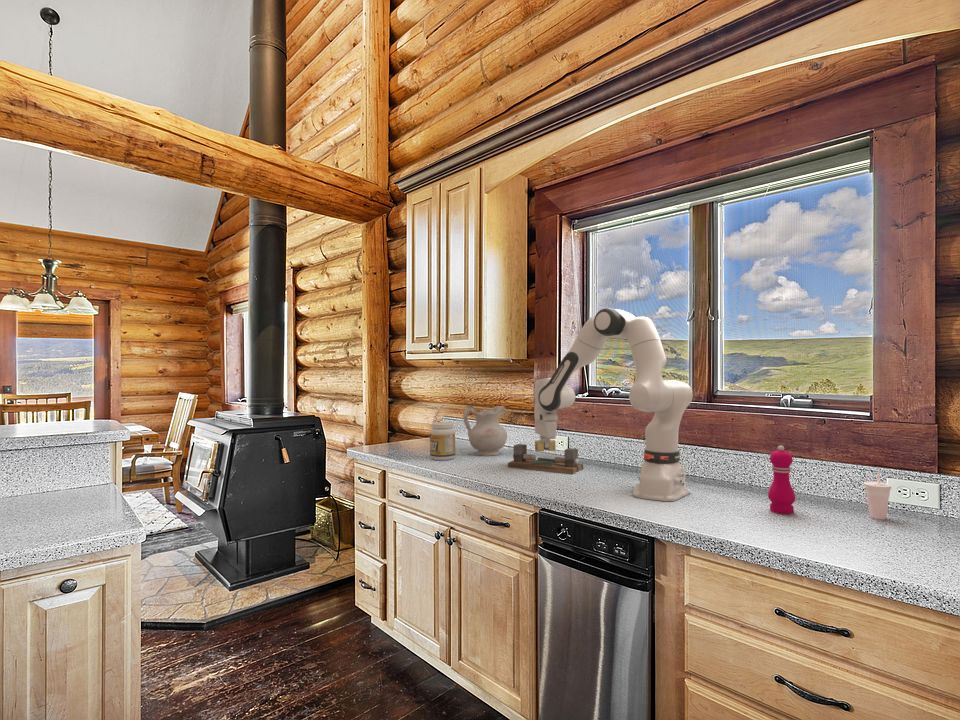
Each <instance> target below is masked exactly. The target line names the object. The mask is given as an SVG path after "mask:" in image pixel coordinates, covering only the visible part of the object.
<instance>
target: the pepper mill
mask: <svg viewBox="0 0 960 720" xmlns="http://www.w3.org/2000/svg"><path fill="white" fill-rule="evenodd" d="M793 459H794V458H793V456H792V454H791V453H790V452H788V451H786V450H785V447H784V446H783V445H778V446H777V450H775V451H774V450H773V451H772V452H771V453H770V456H769V461H770V463H771V464H772V466H771V471H772V472H773V480H772V483H771V485H770V487H769V489H768V493H767V497H768V500H769V501H770V502H771V503H770V504H769V510H770V511H771V512H772V513H776V514H779V515H780V514H781V515H782V514H783V515H791V514H794V511H795V509H794V506H793V504H794V503H795V502H796V494H795V491H794V489H793V487H792V485H791V482H790V473H791V472H792V471H791V469H792V468H791V466H792V464H793V461H794V460H793Z"/></svg>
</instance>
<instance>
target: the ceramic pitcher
mask: <svg viewBox="0 0 960 720" xmlns="http://www.w3.org/2000/svg"><path fill="white" fill-rule="evenodd" d="M506 412H507V410H506V407H505V406H503V405H501V406H500V405H495V406H494V407H492V408H491V409H486V408H484V409H482V410H481V411H480V412H478V411H476V410H475V409H474V405H472V404H471V405H470V404H469V405H467V406H465V408H464V410H463V413H462V418H463V419H462V420H463V423H464V426H465V427H466V429H467V436H468V440H469V443H470V445H471V447H472V448H473V449H475V450H477V452H476V453H475V454H476V455H477V456H482V457H488V456H500V455H502V453H500V452H499V450H501V449H502V448H504V447H505V445H506V443H507V439H508V432H507V430H506V429H505V428H504V427H503V426H501V424H500V421H499V419H500V417H501V415H502V414H503V413H506ZM469 413H471V414H472V415H474V417H475V420H476V421H475V425H474V426H473V427H472V428H471V426H470V425H471V424H470V423H469V422H470V421H468V415H469Z"/></svg>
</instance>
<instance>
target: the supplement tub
mask: <svg viewBox="0 0 960 720" xmlns="http://www.w3.org/2000/svg"><path fill="white" fill-rule="evenodd" d="M429 456H430V457H429V458H430V459H431V460H433V461H440V460H442V461H451V460H454V459H455V457H456V430H455V428H454V422H451V421H450V422H449V421H439V422H437V421H436V422H432V423H431V429H430V431H429Z"/></svg>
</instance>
